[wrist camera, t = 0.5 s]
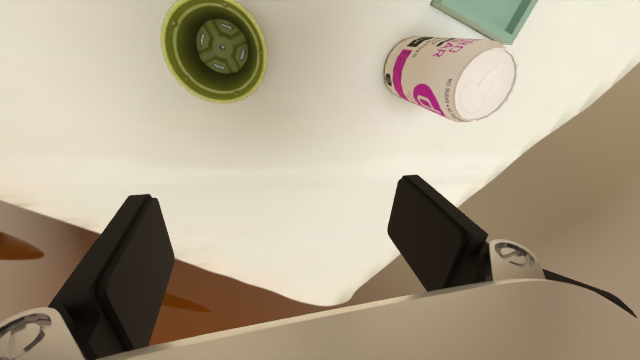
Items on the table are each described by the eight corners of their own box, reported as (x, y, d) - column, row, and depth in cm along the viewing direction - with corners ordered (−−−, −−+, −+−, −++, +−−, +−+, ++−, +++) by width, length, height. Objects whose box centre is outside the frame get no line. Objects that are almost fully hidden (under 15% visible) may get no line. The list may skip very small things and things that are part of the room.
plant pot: (270, 19, 32) (277, 16, 24) (254, 96, 36) (256, 113, 28) (185, -14, 28) (164, -29, 21) (177, 74, 32) (157, 88, 25)
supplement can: (402, 107, 42) (469, 141, 29) (371, 68, 37) (435, 88, 25) (442, 67, 40) (532, 85, 27) (415, 22, 36) (507, 18, 23)
